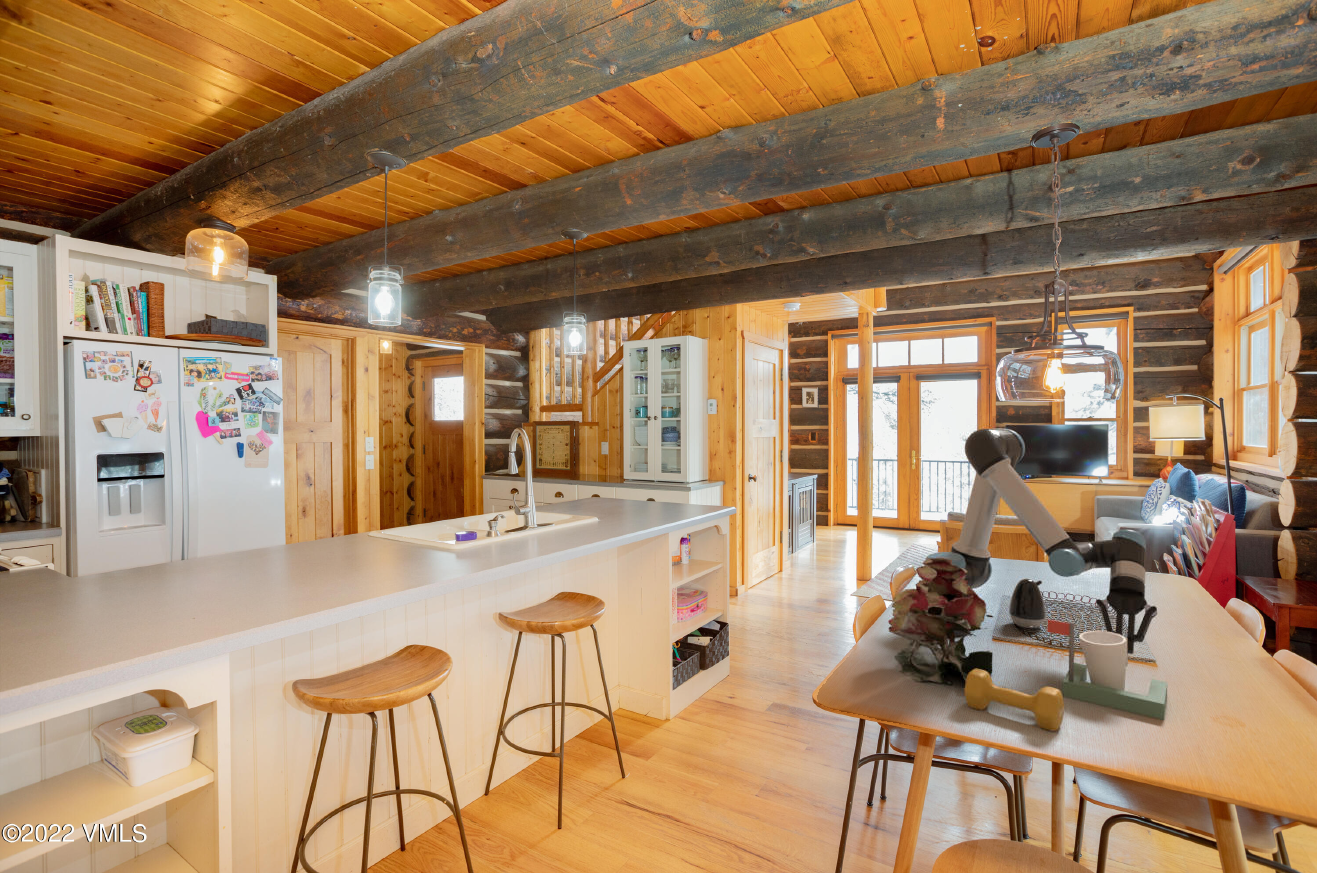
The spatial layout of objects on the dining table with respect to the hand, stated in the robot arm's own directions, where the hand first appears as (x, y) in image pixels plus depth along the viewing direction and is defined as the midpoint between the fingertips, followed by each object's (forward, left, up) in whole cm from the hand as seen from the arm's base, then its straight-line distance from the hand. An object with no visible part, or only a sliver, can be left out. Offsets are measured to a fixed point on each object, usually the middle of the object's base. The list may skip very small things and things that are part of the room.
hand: (1123, 663), depth 155 cm
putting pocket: (-6, -4, -6) cm, 9 cm away
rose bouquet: (-41, +5, -7) cm, 42 cm away
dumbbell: (-32, -20, -7) cm, 38 cm away
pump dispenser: (-5, +48, -7) cm, 49 cm away
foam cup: (-4, -2, -6) cm, 8 cm away
